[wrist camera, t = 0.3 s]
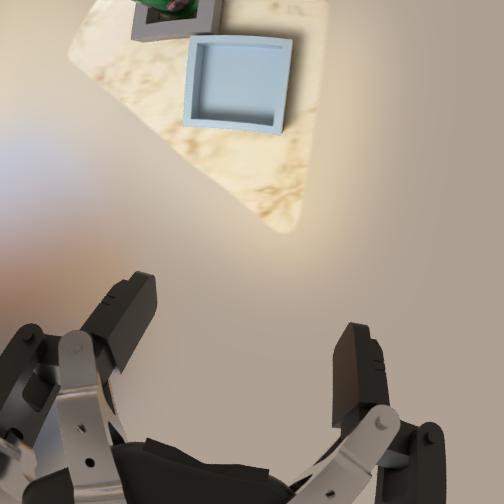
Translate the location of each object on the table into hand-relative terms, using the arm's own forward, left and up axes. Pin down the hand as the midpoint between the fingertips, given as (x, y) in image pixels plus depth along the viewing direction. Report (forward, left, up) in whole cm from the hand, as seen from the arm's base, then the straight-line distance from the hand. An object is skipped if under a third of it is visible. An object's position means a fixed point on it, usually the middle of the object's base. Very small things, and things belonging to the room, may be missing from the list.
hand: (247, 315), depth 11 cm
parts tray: (-9, -7, -29) cm, 31 cm away
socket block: (-21, -16, -29) cm, 39 cm away
